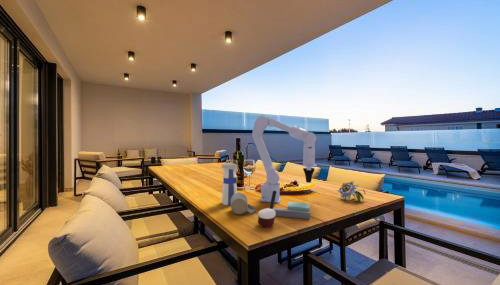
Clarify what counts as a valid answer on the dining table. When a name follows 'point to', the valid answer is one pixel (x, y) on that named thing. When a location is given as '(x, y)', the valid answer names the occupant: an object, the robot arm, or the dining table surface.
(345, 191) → the passion flower
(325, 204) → the dining table surface
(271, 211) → the cocoa
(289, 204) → the block
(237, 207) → the ceramic mug
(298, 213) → the gray bar
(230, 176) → the water bottle
